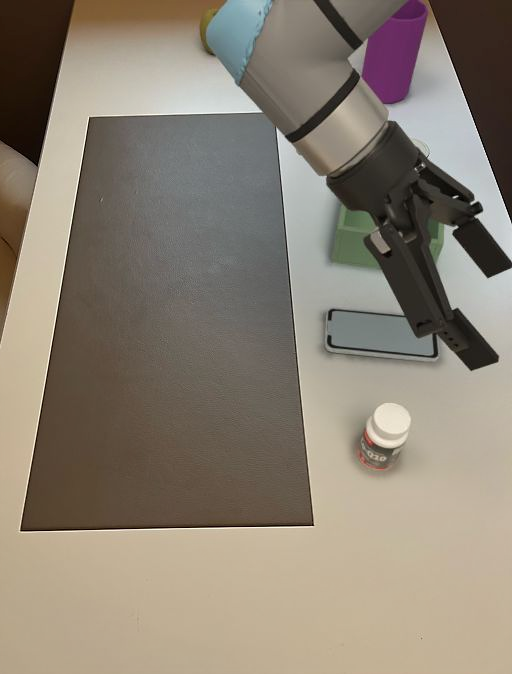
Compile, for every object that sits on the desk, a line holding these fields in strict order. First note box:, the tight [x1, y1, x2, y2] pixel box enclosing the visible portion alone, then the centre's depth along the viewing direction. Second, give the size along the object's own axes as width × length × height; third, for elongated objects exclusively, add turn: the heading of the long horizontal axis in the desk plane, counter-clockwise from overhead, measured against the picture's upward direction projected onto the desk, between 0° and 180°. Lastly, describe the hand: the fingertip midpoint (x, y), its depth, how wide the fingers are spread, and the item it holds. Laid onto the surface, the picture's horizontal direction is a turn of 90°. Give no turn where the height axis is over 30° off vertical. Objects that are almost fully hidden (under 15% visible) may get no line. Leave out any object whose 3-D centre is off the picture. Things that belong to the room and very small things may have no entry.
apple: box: [198, 7, 222, 55], centre depth 124 cm, size 8×8×7 cm
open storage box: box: [330, 202, 445, 271], centre depth 93 cm, size 15×15×7 cm
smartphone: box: [324, 307, 441, 363], centre depth 84 cm, size 7×1×15 cm
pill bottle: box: [356, 402, 412, 471], centre depth 71 cm, size 5×5×8 cm
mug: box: [360, 0, 429, 104], centre depth 114 cm, size 9×16×15 cm, turn 164°
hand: (493, 314), depth 61 cm, fingers open, 13 cm apart
